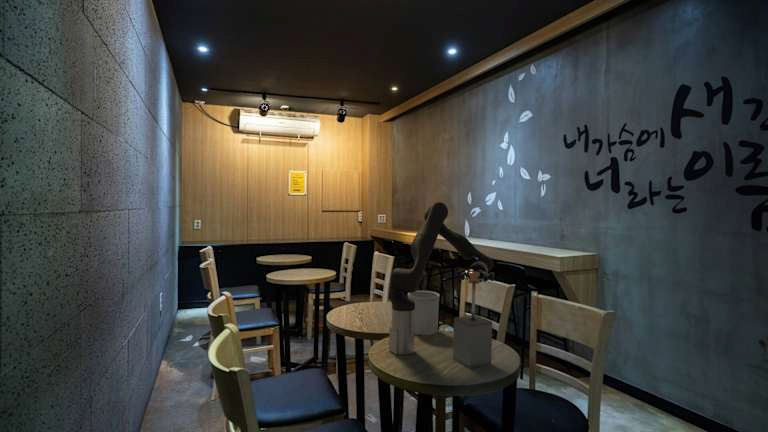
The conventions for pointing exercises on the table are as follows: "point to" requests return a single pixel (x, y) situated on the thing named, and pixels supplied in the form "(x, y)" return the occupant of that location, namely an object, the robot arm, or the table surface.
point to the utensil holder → (425, 311)
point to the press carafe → (472, 341)
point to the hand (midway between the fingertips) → (473, 278)
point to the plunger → (473, 289)
